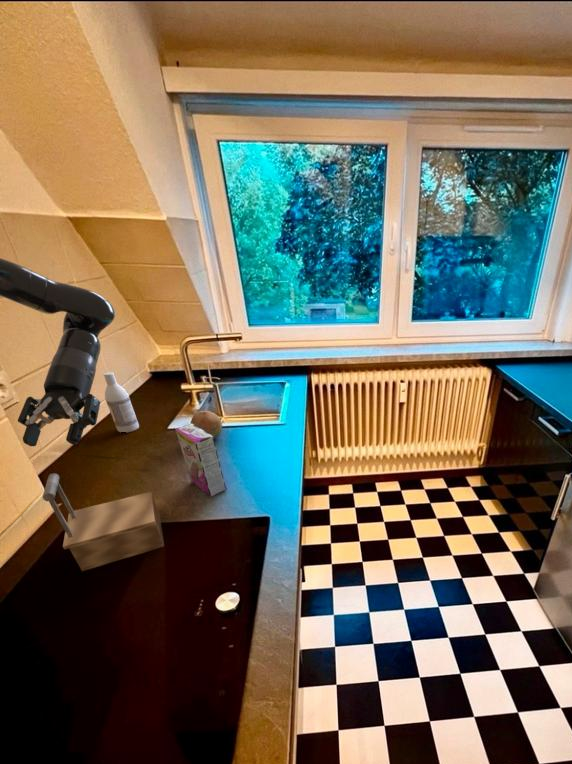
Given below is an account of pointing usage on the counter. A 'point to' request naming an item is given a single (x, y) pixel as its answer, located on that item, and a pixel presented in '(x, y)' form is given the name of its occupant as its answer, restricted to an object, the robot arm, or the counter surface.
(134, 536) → the oak box
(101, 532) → the box lid
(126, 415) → the bath foam
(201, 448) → the candy bar box
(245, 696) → the counter surface
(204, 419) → the brown round ball
